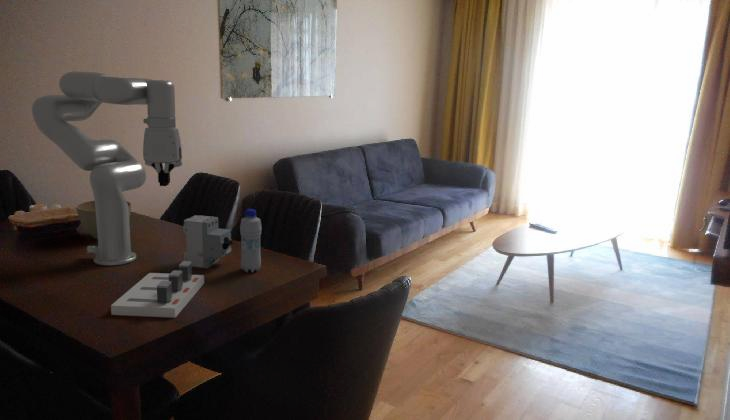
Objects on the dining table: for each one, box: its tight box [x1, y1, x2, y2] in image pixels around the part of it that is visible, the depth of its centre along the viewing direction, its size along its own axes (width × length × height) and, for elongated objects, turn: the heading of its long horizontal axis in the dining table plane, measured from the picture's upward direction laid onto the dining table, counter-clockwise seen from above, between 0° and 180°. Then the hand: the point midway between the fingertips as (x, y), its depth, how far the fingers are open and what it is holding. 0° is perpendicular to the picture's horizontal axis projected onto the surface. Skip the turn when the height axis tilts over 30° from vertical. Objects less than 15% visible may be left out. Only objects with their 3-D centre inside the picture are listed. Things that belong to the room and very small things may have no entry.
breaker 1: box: [157, 281, 172, 303], centre depth 136 cm, size 2×4×4 cm, turn 0°
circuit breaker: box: [182, 214, 234, 269], centre depth 172 cm, size 8×14×15 cm, turn 79°
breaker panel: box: [110, 272, 205, 318], centre depth 145 cm, size 16×24×3 cm, turn 0°
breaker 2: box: [178, 260, 193, 281], centre depth 152 cm, size 2×4×4 cm, turn 0°
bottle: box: [239, 208, 263, 273], centre depth 167 cm, size 7×7×20 cm
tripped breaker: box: [168, 269, 183, 291], centre depth 144 cm, size 2×4×4 cm, turn 0°
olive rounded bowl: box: [75, 200, 132, 240], centre depth 196 cm, size 18×18×12 cm
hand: (164, 185), depth 159 cm, fingers closed
